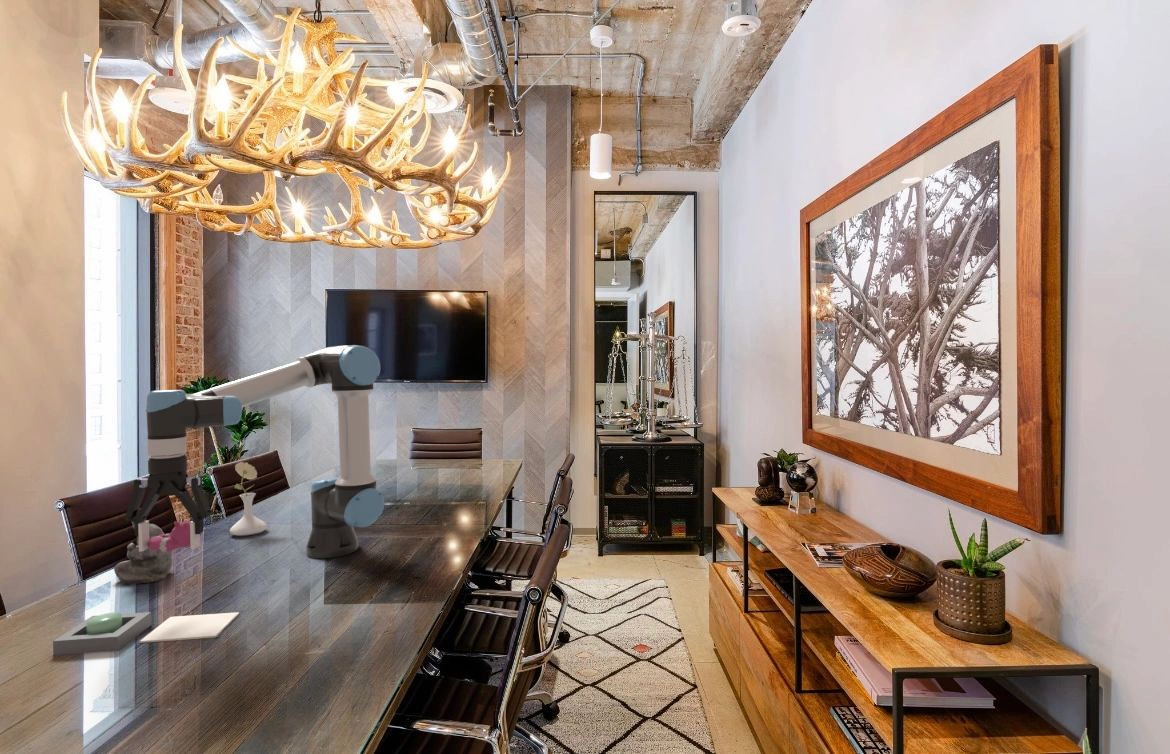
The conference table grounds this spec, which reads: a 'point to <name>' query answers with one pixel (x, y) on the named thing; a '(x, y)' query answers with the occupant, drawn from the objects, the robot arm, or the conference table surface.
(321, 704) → the conference table surface
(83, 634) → the button housing
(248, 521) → the flower in vase
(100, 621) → the button
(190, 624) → the paper sheet
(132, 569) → the figurine
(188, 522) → the toy
